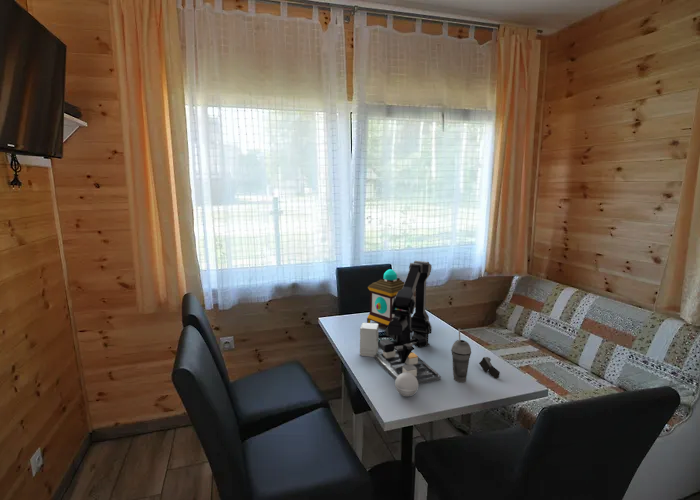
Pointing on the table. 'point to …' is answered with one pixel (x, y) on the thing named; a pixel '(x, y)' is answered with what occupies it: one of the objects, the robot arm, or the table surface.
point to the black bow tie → (489, 367)
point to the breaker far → (389, 354)
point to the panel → (396, 367)
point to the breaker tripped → (412, 359)
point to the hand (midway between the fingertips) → (402, 363)
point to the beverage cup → (460, 359)
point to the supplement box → (368, 339)
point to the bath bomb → (406, 384)
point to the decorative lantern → (384, 297)
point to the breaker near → (410, 369)
